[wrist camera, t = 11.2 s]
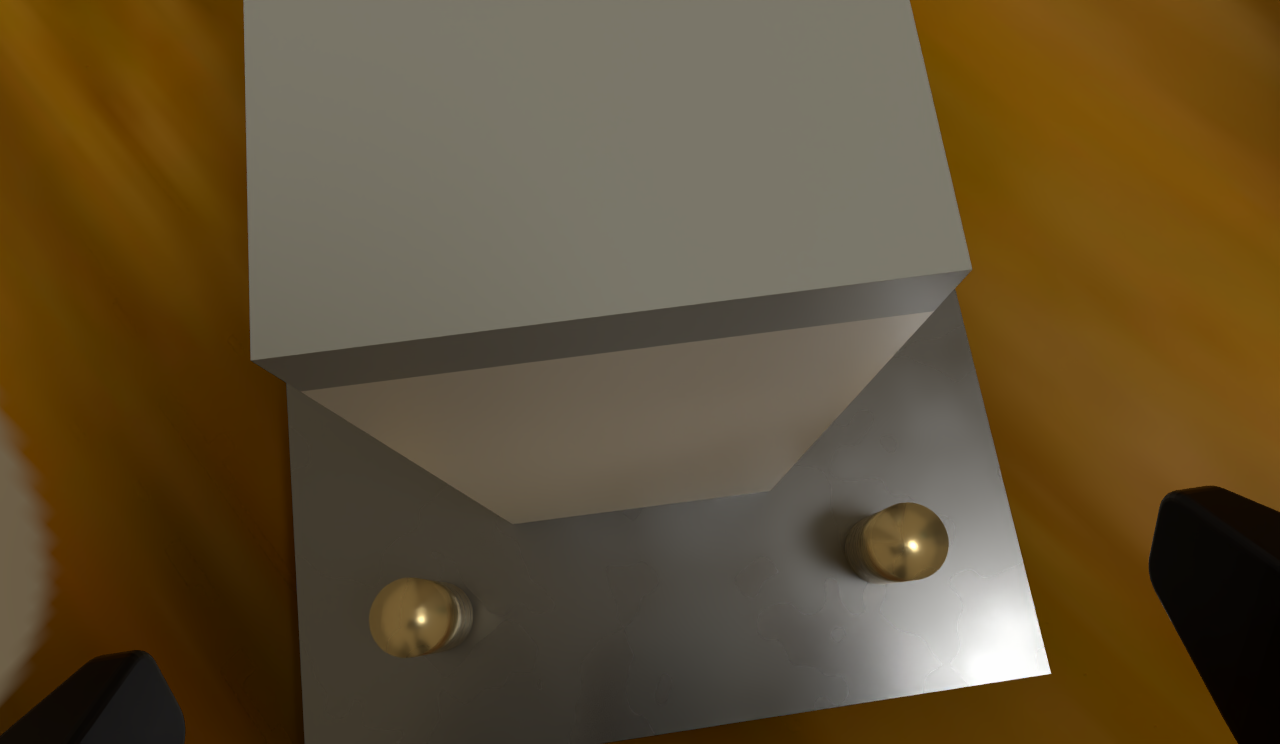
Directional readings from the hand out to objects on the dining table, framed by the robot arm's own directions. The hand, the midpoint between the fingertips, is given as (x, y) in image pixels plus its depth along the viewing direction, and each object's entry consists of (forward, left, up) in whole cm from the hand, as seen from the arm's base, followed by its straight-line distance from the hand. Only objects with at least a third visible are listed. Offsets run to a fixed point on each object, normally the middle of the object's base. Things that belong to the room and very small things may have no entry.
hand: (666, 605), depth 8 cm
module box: (+5, -1, -11) cm, 12 cm away
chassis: (+5, -1, -12) cm, 13 cm away
